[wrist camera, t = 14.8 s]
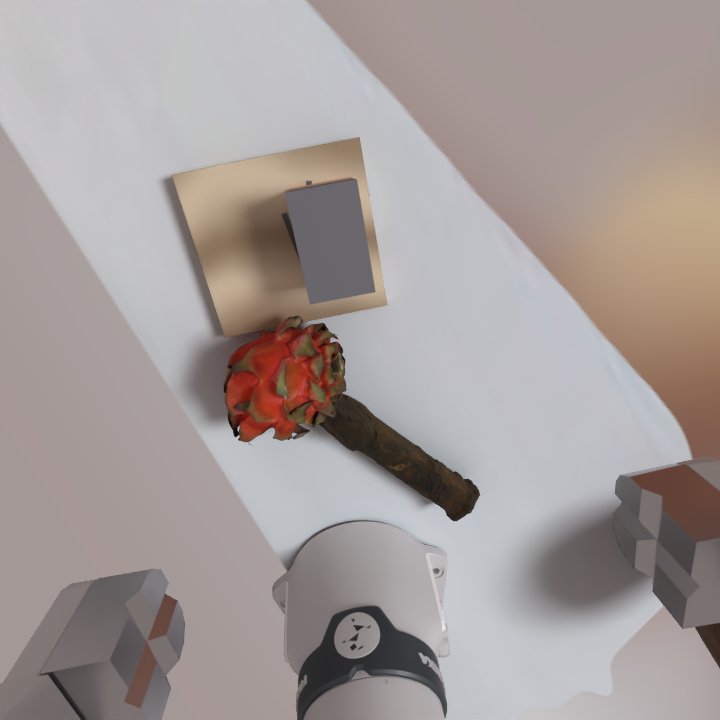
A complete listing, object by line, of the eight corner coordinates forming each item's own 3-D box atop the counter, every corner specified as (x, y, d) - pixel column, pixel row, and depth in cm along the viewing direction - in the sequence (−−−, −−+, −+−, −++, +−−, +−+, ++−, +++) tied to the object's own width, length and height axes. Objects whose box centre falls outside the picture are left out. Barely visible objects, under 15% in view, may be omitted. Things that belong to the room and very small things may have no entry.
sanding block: (368, 277, 34) (375, 293, 29) (312, 288, 34) (310, 306, 29) (351, 176, 31) (356, 177, 26) (289, 188, 31) (284, 191, 26)
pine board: (384, 299, 36) (387, 305, 35) (228, 331, 36) (225, 337, 35) (357, 138, 32) (359, 137, 30) (178, 174, 32) (171, 175, 30)
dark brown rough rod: (473, 475, 44) (489, 508, 40) (443, 500, 45) (456, 534, 41) (330, 358, 38) (331, 381, 34) (300, 389, 39) (297, 415, 35)
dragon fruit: (348, 311, 38) (258, 392, 42) (275, 272, 31) (176, 373, 35) (391, 392, 33) (285, 474, 37) (316, 367, 26) (198, 469, 31)
